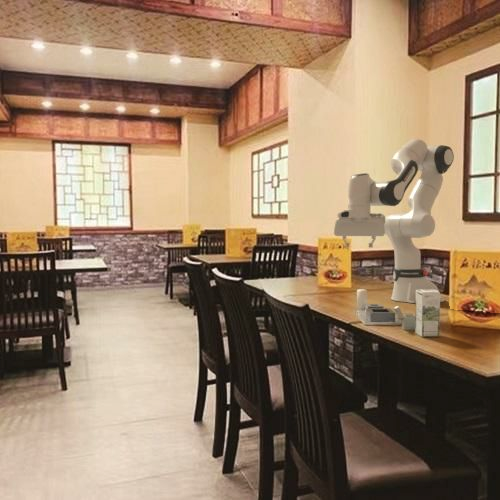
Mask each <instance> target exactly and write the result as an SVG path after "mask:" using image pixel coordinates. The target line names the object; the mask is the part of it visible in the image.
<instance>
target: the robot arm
mask: <svg viewBox="0 0 500 500" xmlns="http://www.w3.org/2000/svg"><path fill="white" fill-rule="evenodd" d="M454 158H455V156H454V150H453V149H452V148H451V147H450V146H448V145H427V143H426V141H423V140H422V139H420V138H413V139H410V140H409V141H407V142H406V143H405V144H404V145H402V146H401V147H400V148H399V149H398V150H397V151H396V152H395V153H394V154H393V155H392V158H391V160H390V165H391V169H392V170H393V171H392V172H394V173H395V174H396V175H397V176H396V177H395V178H394V179H393V180H392V179H391V180H387V181H380V182H377V181H375V180H373V179H372V178H371V177H370V174H369V173H358V174H354V175H353V174H352V175H351V176H350V178H349V183H348V192H347V194H348V199H349V201H348V209H345V210H342V211H340V212H338V213H336V216H337V219H336V220H335V223H334V227H333V234H334V235H335V237H342V240H343V242H344V244H345V245H344V247H345V248H349V247H350V243H349V242H347V237H371V242H368V248H373V247H374V242H375V241H376V239H377V237H384V236H385V235H386V236H387V237H388V239H389V241H390V242H391V244H392V248H393V252H394V255H393V256H394V268H393V273H392V275H393V290H392V294H391V298H390V300H392V301H395V302H396V301H397V302H403V303H410V304H416V290H419V289H435V290H437V291H439V288H438V287H437V285H436V284H435V283H433V282H432V281H431V280H430V279H428V278H427V277H426V276H427V275H429V271H428V270H426V269H423V268H422V267H421V262H422V261H421V259H422V258H421V254H422V253H421V250H420V249H419V248H418V247H417V246H416V245H415V244H414V242H413V239H421V238H426V237H430V236H432V235H433V233H434V232H435V229H436V221H435V219H434V217H433V216H432V213H431V212H432V211H431V210H432V208H433V206H434V203H435V201H436V199H437V197H438V196H439V193H440V191H441V188H442V185H443V181H444V176H443V174H445V173H446V172H447V171H448V170H449V169H450V168H451V166H452V165H453V162H454ZM418 171H419V172H420V171H421V172H420V173H421V174H420V176H419V178H418V179H417V180H416V182H415V184H414V186H413V188H412V190H411V192H410V193H409V195H408V197H407V204H408V206H409V207H410V210H409V211H408V212H404V213H403V212H397V213H396V212H395V213H392V214H388V215H386V216H385V215H384V214H383V213H381V212H380V213H371V207H374V206H376V207H377V206H380V207H382V206H384V207H385V206H387V207H388V206H389V207H396V206H398V205H399V204H400V203H401V202H402V200H403V198H404V196H405V193H406V191H407V189H408V188H409V187H410V185H411V183H412V182H413V180H414V179H415V178H416V176H417V174H418ZM412 238H413V239H412ZM443 302H445V298H444V297H442V296H441V295H440V303H443Z"/></svg>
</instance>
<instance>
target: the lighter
mask: <svg viewBox="0 0 500 500" xmlns="http://www.w3.org/2000/svg"><path fill="white" fill-rule="evenodd" d="M393 311H394V312H395V315H397V316H396V317H397V318H398V319H399V320H401V319H402V320H401V321H402V325H401V326H402V327H401V329H402V330H403V331H415V315H414V314H413V313H405V316H404V314H403V312H402V310H401V307H399V305H395V306H394V307H393Z"/></svg>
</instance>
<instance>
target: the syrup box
mask: <svg viewBox="0 0 500 500" xmlns="http://www.w3.org/2000/svg"><path fill="white" fill-rule="evenodd" d="M440 296H441V292H440V291H439V290H438V291H437V290H435V289H419V290H416V303H415V312H414V314H415V315H414V316H415V330H414V332H415V334H416V335H418V336H419V337H421V338H436V337H437V338H438V337H440V323H441V322H440V321H441V319H440V316H441V311H440V310H441V302H440Z"/></svg>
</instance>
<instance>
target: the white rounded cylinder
mask: <svg viewBox="0 0 500 500" xmlns="http://www.w3.org/2000/svg"><path fill="white" fill-rule="evenodd" d="M365 304H368V290H367V289H363V288H362V289H356V310H365Z"/></svg>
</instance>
